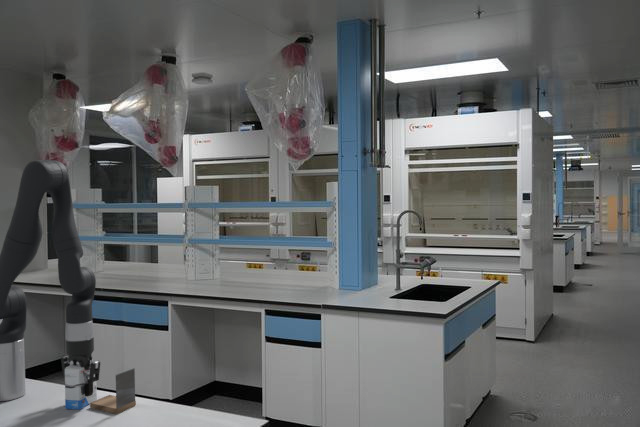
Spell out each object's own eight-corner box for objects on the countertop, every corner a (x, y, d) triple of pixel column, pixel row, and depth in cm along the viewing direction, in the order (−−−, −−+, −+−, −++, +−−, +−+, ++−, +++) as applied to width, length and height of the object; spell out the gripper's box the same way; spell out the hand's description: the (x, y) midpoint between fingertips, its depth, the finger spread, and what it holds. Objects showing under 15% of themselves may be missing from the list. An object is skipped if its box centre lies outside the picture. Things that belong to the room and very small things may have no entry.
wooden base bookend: (90, 408, 159) (89, 370, 159) (109, 399, 166) (108, 363, 165) (117, 414, 154) (116, 375, 154) (135, 405, 161) (135, 367, 160)
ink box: (80, 410, 158) (78, 369, 157) (64, 409, 159) (63, 368, 158) (97, 399, 166) (96, 360, 166) (82, 398, 167) (81, 359, 167)
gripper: (51, 337, 162) (53, 394, 162) (86, 342, 155) (88, 402, 156) (73, 331, 168) (75, 386, 169) (107, 336, 162) (109, 393, 162)
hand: (81, 393), depth 162 cm, fingers closed on ink box, 5 cm apart
